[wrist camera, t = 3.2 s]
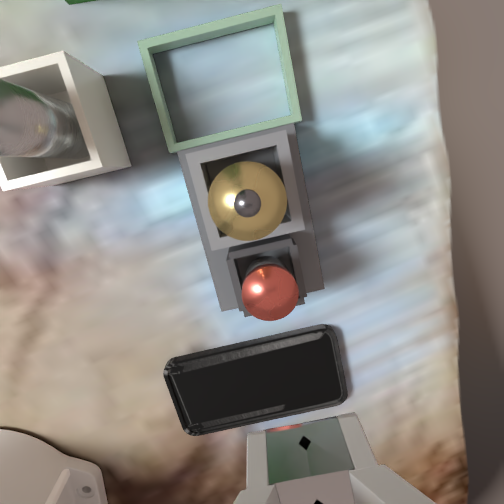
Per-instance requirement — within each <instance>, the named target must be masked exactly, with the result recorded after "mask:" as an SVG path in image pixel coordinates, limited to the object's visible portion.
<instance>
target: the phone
mask: <svg viewBox="0 0 504 504" xmlns="http://www.w3.org/2000/svg"><path fill="white" fill-rule="evenodd" d="M163 374H164V378H165V381H166V384H167V387H168V389H169V392H170V395H171V398H172V400H173V403H174V406H175V409H176V411H177V414H178V417H179V420H180V422H181V425H182V428H183V430H184V431H185V432H186V433H187V434H189V435H192V436H199V435H204V434H208V433H213V432H218V431H222V430H227V429H231V428H236V427H241V426H245V425H250V424H255V423H259V422H264V421H268V420H273V419H278V418H282V417H287V416H292V415H296V414H301V413H305V412H310V411H315V410H319V409H324V408H329V407H333V406H337V405H340V404H342V403H343V402H344V401H345V400H346V398H347V387H346V382H345V377H344V372H343V367H342V362H341V357H340V352H339V346H338V341H337V337H336V335H335V333H334V331H333V329H332V328H331V327H329V326H328V325H324V324H320V325H315V326H310V327H306V328H302V329H297V330H293V331H288V332H284V333H280V334H275V335H271V336H266V337H262V338H258V339H253V340H249V341H244V342H240V343H236V344H231V345H227V346H222V347H218V348H214V349H209V350H205V351H200V352H196V353H192V354H187V355H183V356H179V357H174V358H172V359H170V360H169V361H168V362H167V364H166V366H165V369H164V373H163Z"/></svg>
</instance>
